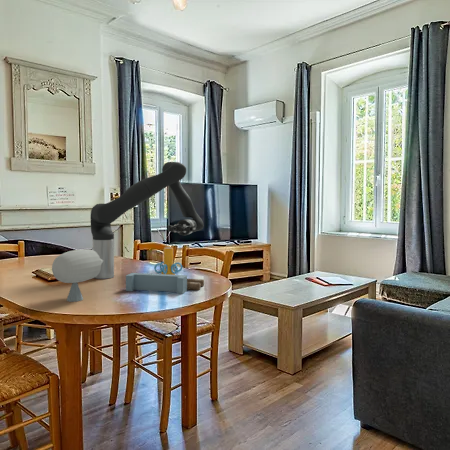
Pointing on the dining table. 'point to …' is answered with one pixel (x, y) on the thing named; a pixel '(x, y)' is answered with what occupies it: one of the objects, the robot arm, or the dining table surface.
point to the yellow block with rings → (168, 263)
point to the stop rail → (156, 282)
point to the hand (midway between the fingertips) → (176, 229)
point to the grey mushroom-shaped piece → (76, 269)
